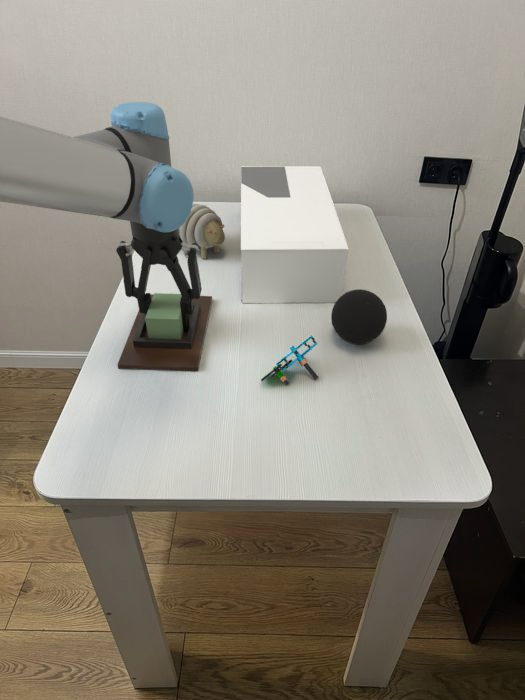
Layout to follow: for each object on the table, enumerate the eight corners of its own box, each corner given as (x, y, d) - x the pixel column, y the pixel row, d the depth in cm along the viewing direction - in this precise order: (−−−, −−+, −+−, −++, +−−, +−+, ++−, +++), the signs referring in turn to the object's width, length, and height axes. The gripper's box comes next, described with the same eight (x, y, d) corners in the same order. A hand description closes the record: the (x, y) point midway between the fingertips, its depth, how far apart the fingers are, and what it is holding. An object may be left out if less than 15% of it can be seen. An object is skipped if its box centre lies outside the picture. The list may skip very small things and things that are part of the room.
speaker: (319, 328, 95) (324, 284, 88) (364, 318, 98) (372, 274, 91) (344, 360, 88) (351, 315, 81) (392, 348, 91) (402, 303, 84)
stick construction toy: (302, 338, 89) (315, 327, 81) (326, 368, 89) (341, 359, 81) (252, 378, 85) (260, 370, 78) (277, 409, 85) (288, 405, 78)
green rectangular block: (181, 340, 90) (178, 319, 87) (148, 339, 90) (144, 318, 87) (187, 315, 96) (185, 293, 93) (157, 314, 96) (154, 293, 93)
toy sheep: (209, 269, 111) (206, 223, 104) (158, 246, 119) (152, 203, 112) (239, 251, 118) (238, 207, 111) (188, 231, 126) (184, 189, 119)
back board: (198, 371, 85) (196, 360, 84) (118, 368, 85) (115, 358, 84) (212, 300, 102) (211, 290, 100) (145, 298, 102) (144, 288, 101)
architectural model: (241, 210, 135) (240, 165, 127) (316, 210, 136) (320, 165, 128) (241, 303, 101) (240, 249, 93) (342, 302, 102) (349, 248, 94)
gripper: (214, 202, 81) (220, 315, 96) (100, 199, 81) (124, 313, 96) (208, 222, 75) (216, 340, 90) (86, 219, 75) (114, 336, 90)
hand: (168, 325), depth 93 cm, fingers closed on green rectangular block, 6 cm apart
